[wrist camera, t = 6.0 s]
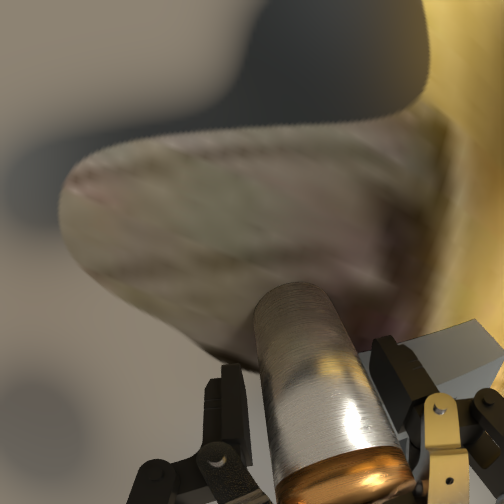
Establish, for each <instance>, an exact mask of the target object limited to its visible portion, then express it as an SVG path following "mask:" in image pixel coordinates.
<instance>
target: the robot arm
mask: <svg viewBox="0 0 504 504" xmlns="http://www.w3.org/2000/svg"><path fill="white" fill-rule="evenodd" d="M369 372H370V375H371V378H372V380H373V382H374V384H375V386H376V388H377V390H378V393H379V395H380V397H381V399H382V401H383V403H384V405H385V407H386V410H387V412H388V414H389V416H390V418H391V420H392V422H393V425H394V427H395V429H396V431H397V433H398V434H400V433H403V432H405V431H406V432H407V434H408V436H409V437H408V439H407V444H406V460H407V462H408V464H409V467H410V469H411V472H412V474H413V476H414V479H415V481H416V486H415V488H414V489H413V491H411V492H409V493H406V494H404V495H401V496H399V497H396V498H393V499H390V500H388V501H385V502H384V503H382V504H469V465H470V466H471V467H472V469H473V470H474V471H475V472H476V474H477V475H478V476H479V477H480V479H481V480H482V481H483V483H484V484H485V485H486V486H487V488H488V489H489V490H490V492H491V493H492V494H493V496H494V497H495V498H496V499H497V500H496V504H504V398H503V397H502V396H501V395H500V394H499V393H498V392H497V391H496V390H494V389H491V388H483V389H480V390H479V391H478V392H477V393H476V394H475V396H474V398H467V399H458V400H455V399H453V398H452V397H451V396H450V395H448V394H445V393H440V392H439V390H438V389H437V387H436V385H435V384H434V382H433V381H432V379H431V378H430V376H429V375H428V373H427V371H426V370H425V368H424V367H423V365H422V364H421V362H420V361H418V358H417V356H416V355H415V353H414V352H413V350H411V349H410V348H409V347H407V346H406V345H404V344H401V345H398V344H397V343H396V341H395V340H394V338H393V337H392V336H391V335H389V336H385V337H381V338H377V339H374V340H373V343H372V349H371V355H370V361H369ZM204 396H205V397H204V401H205V402H204V419H203V441H202V445H201V448H200V449H199V451H198V452H197V453H196V454H194V455H193V456H192V457H190V458H187V459H184V460H181V461H178V462H174V463H171V464H170V463H169V462H167V461H165V460H162V459H153V460H149V461H147V462H145V463H144V464H143V465H142V466H141V467H140V468H139V470H138V473H137V476H136V478H135V481H134V484H133V486H132V489H131V492H130V495H129V498H128V500H127V503H126V504H206V503H209V502H212V501H217V503H218V504H273V503H272V501H271V500H270V499H269V497H268V496H267V495H266V494H265V493H264V492H263V491H262V490H261V489H260V488H259V486H258V485H257V483H256V482H255V480H254V479H253V478H252V476H251V474H250V473H249V471H248V470H247V466H252V465H253V463H252V453H251V441H250V429H249V418H248V406H247V396H246V389H245V385H244V380H243V375H242V370H241V366H240V363H235V364H227V365H222V367H221V378H215V379H210V381H209V382H208V384H207V386H206V388H205V395H204ZM485 431H486V432H487V433H488V434H489V435H488V434H487V433H486V432H485ZM489 436H490V437H491V438H492V439H493V440H494V441H495V442H496V443H495V442H494V441H493V440H492V439H491V438H490V437H489ZM496 444H497V445H498V446H499V447H500V448H499V447H498V446H497V445H496Z"/></svg>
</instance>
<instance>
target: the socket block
mask: <svg viewBox="0 0 504 504" xmlns="http://www.w3.org/2000/svg"><path fill="white" fill-rule="evenodd" d="M401 344H404V345H406V346H407V347H409V348H410V349H411V350H413V352H414V353H415V355H416V356H417V358H418V361H420V362H421V364H422V365H423V367H424V368H425V370H426V371H427V373H428V375H429V376H430V378H431V379H432V381H433V382H434V384H435V385H436V387H437V389H438V390H439V392H440V393H445V394H448V395H450V396H451V397H452V398H453V399H455V400H458V399H467V398H474V396H475V394H476V393H477V392H478V391H479V390H480V389H483V388H490V386H491V385H492V383H493V381H494V379H495V377H496V375H497V373H498V371H499V369H500V367H501V365H502V363H503V361H504V350H503V348H502V347H501V346H500V345H499V344H498V343H497V342H496V341H495V339H494V338H493V337H492V336H491V335H490V334H489V333H488V332H487V331H486V330H485V329H484V328H483V327H482V325H481V324H480V323H479V322H478V321H477V320H476V319H473V320H471V321H468V322H465V323H462V324H459V325H456V326H453V327H450V328H447V329H444V330H441V331H438V332H435V333H432V334H429V335H425V336H422V337H419V338H415V339H412V340H408V341H405V342H401V343H398V345H401ZM358 355H359V357H360V360H361V362H362V364H363V366H364V368H365V370H366V372H367V374H368V376H369V378H370V380H371V382H372V384H373V387H374V389H375V391H376V393H377V395H378V397H379V399H380V401H381V404H382V406H383V408H384V410H385V412H386V414H387V417H388V419H389V421H390V423H391V425H392V428H393V430H394V432H395V434H396V437H397V439H398V441H399V443H400V446H401V448H402V450H403V453H404V455H405V457H406V444H407V439H408V437H409V436H408V434H407V432H406V431H405V432H403V433H400V434H398V433H397V431H396V429H395V427H394V425H393V422H392V420H391V418H390V416H389V414H388V412H387V410H386V407H385V405H384V403H383V401H382V399H381V397H380V395H379V393H378V390H377V388H376V386H375V384H374V382H373V380H372V378H371V375H370V372H369V361H370V355H371V351H367V352H362V353H358Z"/></svg>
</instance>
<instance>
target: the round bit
mask: <svg viewBox="0 0 504 504" xmlns="http://www.w3.org/2000/svg"><path fill="white" fill-rule="evenodd" d="M253 322H254V331H255V339H256V347H257V355H258V363H259V371H260V379H261V387H262V395H263V402H264V410H265V418H266V426H267V433H268V441H269V449H270V456H271V463H272V472H273V479H274V486H275V493H276V502H277V504H382V503H384V502H385V501H388V500H390V499H393V498H396V497H399V496H401V495H404V494H406V493H409V492H411V491H413V489H414V488H415V486H416V481H415V479H414V476H413V474H412V472H411V469H410V467H409V464H408V462H407V460H406V457H405V455H404V453H403V450H402V448H401V446H400V443H399V441H398V439H397V437H396V434H395V432H394V430H393V428H392V425H391V423H390V421H389V419H388V417H387V414H386V412H385V410H384V408H383V406H382V404H381V401H380V399H379V397H378V395H377V393H376V391H375V389H374V387H373V384H372V382H371V380H370V378H369V376H368V374H367V372H366V370H365V368H364V366H363V364H362V362H361V360H360V357H359V355H358V353H357V351H356V349H355V347H354V345H353V343H352V341H351V339H350V337H349V335H348V333H347V331H346V329H345V327H344V325H343V323H342V321H341V320H340V318H339V316H338V314H337V312H336V310H335V308H334V306H333V304H332V302H331V300H330V298H329V297H328V295H327V294H326V293H325V292H324V291H323V290H322V289H320V288H319V287H317V286H315V285H312V284H309V283H303V282H295V283H288V284H284V285H281V286H279V287H277V288H275V289H273V290H271V291H270V292H269V293H267V294H266V295H265V296H264V297H263V298H262V299H261V300H260V302H259V303H258V305H257V307H256V309H255V312H254V317H253Z"/></svg>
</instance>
